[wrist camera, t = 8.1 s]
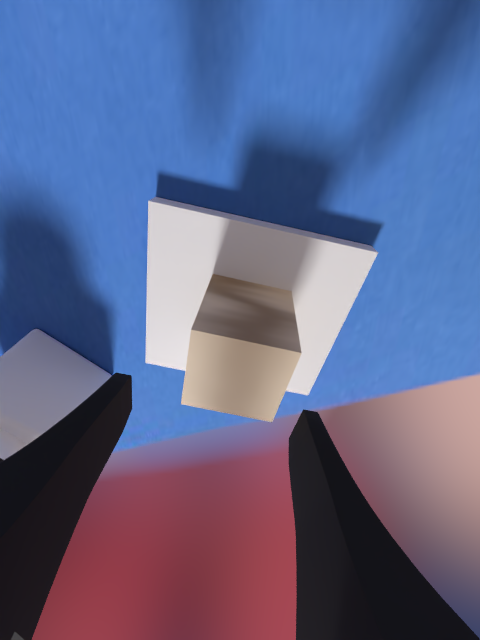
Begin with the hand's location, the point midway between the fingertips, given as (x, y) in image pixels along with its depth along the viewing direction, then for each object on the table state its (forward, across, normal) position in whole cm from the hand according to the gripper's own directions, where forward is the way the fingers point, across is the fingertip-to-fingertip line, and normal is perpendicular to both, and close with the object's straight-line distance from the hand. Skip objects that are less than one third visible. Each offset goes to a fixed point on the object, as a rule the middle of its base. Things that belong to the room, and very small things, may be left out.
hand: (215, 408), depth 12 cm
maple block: (+8, -1, 0) cm, 8 cm away
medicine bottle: (+10, +14, +11) cm, 20 cm away
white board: (+9, -1, 0) cm, 9 cm away
